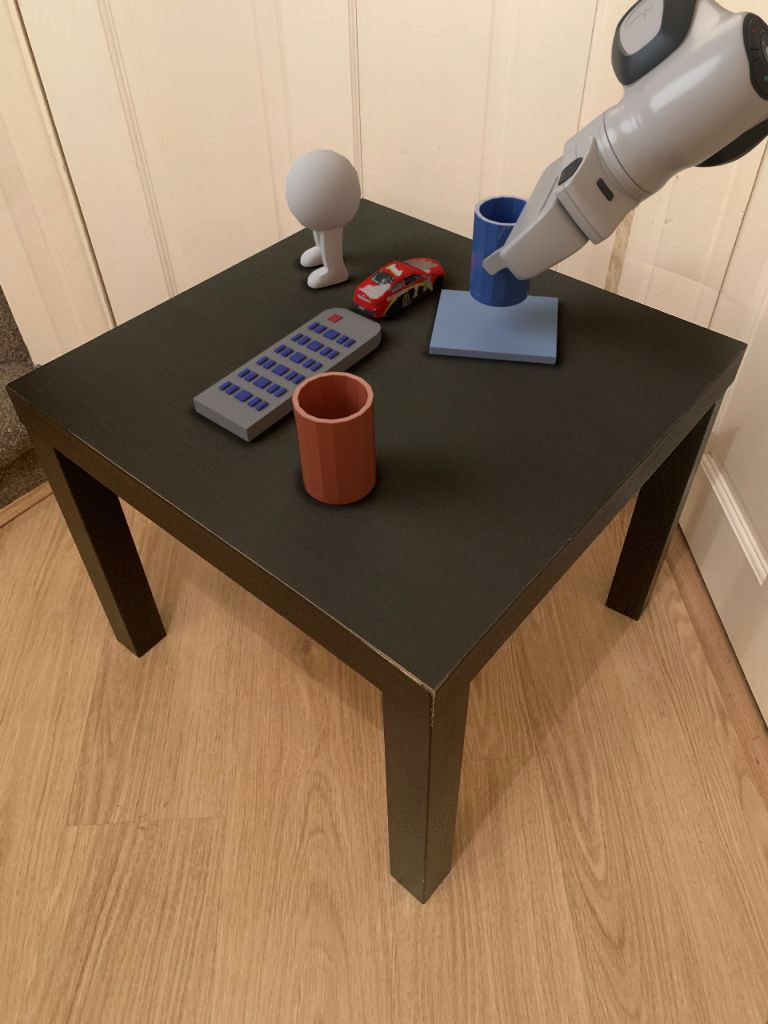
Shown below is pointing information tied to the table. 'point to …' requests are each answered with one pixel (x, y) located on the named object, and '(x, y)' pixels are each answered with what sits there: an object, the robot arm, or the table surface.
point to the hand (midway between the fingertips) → (497, 248)
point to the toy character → (323, 209)
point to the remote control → (287, 371)
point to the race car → (398, 286)
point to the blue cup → (488, 234)
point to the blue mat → (496, 329)
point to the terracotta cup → (336, 436)
